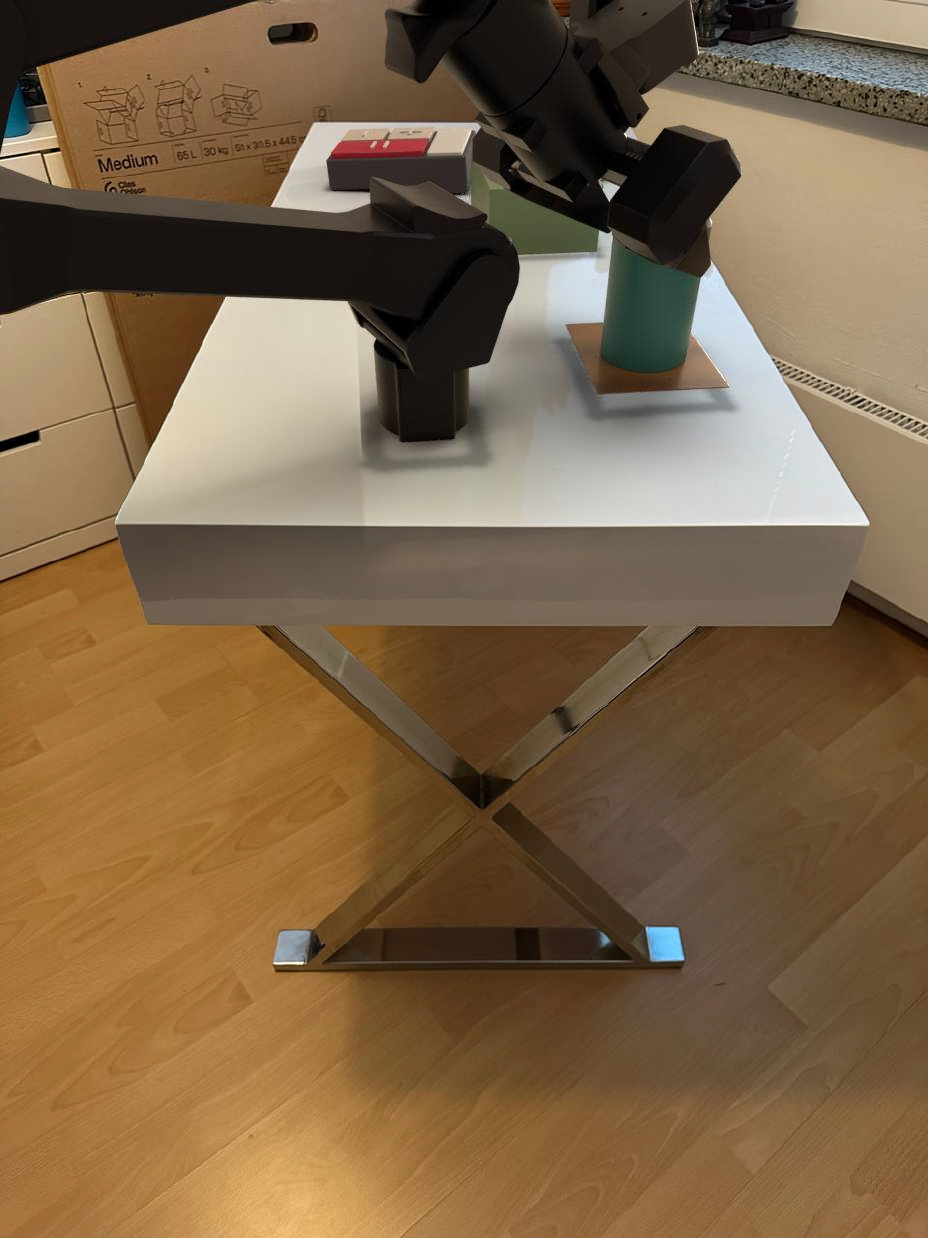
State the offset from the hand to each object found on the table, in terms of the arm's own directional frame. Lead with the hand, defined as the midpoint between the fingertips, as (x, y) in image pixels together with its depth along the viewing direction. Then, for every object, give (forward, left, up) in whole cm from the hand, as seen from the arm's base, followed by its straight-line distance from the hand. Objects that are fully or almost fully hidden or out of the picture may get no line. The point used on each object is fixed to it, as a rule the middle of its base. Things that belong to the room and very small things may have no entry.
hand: (655, 247), depth 56 cm
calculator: (+49, +14, -9) cm, 52 cm away
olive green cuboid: (+30, +3, -9) cm, 31 cm away
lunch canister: (0, 0, -7) cm, 7 cm away
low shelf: (0, 0, -9) cm, 9 cm away
